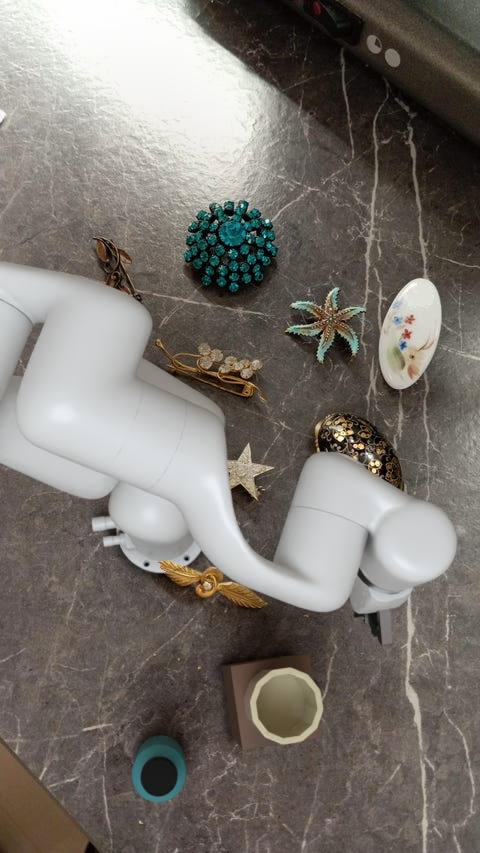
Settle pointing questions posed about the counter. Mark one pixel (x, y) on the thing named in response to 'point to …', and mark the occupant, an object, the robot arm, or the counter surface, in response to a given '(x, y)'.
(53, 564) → the counter surface
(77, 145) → the counter surface
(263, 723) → the cream cup
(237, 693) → the stand
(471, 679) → the counter surface
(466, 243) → the counter surface
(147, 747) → the beverage bottle
